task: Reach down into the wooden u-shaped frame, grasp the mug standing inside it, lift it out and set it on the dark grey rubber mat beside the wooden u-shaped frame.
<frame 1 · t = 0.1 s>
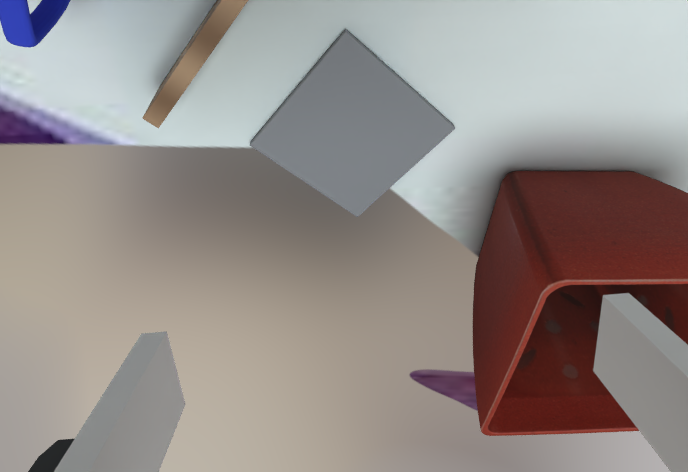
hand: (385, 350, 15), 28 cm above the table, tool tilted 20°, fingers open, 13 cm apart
plant pot: (550, 223, 49), on the table
mat: (351, 133, 41), on the table
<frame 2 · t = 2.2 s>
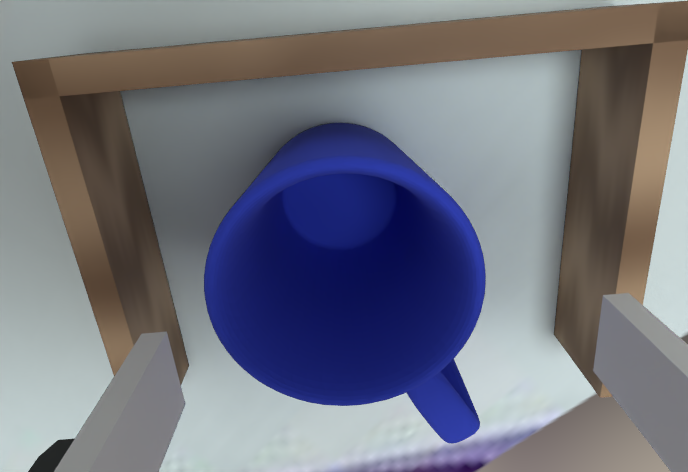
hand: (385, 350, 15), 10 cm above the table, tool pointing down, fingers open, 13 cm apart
mug: (361, 221, 24), on the table
wooden u-shaped frame: (361, 222, 24), on the table
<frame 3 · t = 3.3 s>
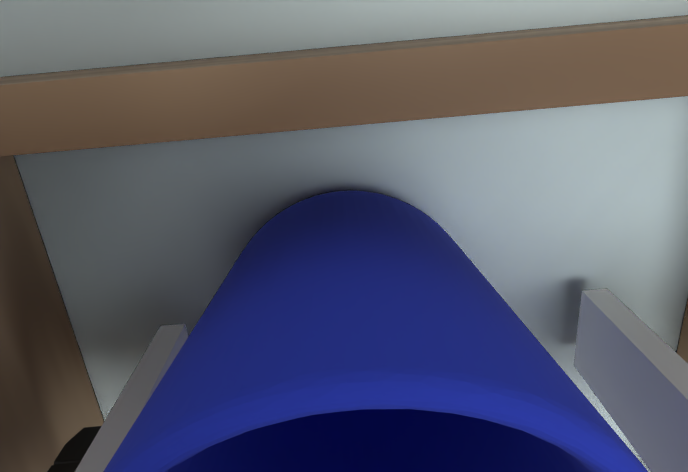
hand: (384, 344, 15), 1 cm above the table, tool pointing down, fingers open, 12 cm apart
mug: (381, 323, 17), on the table
wooden u-shaped frame: (381, 327, 16), on the table
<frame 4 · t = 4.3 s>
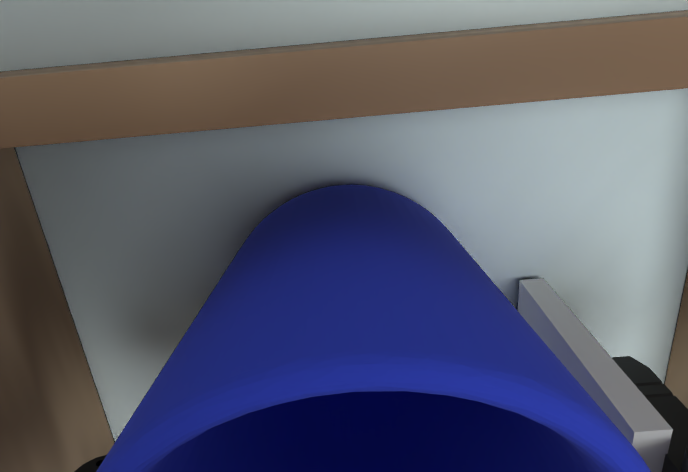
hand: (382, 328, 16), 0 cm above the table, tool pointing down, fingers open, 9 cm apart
mug: (380, 317, 17), on the table, touching gripper
wooden u-shaped frame: (380, 320, 16), on the table
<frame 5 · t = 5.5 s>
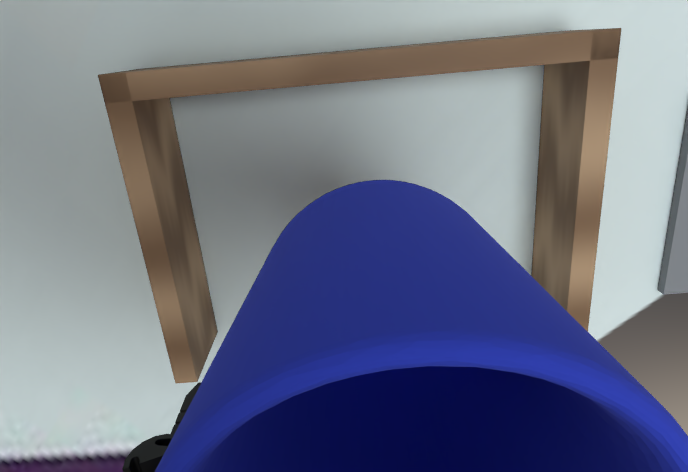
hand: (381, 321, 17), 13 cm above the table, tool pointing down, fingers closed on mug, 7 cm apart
mug: (405, 310, 17), point 13 cm above the table, touching gripper
wooden u-shaped frame: (364, 208, 29), on the table
when the fingers open (1 cm above the table, at t = 10.0 s): mug stays where it is, resting on mat.
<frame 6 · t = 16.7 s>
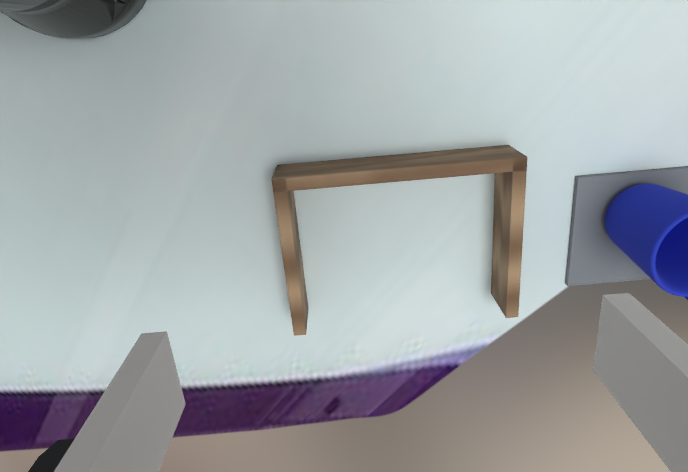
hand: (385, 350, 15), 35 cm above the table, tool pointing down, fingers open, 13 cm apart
mug: (639, 227, 51), resting on mat
mat: (628, 227, 52), on the table
wooden u-shaped frame: (396, 237, 51), on the table
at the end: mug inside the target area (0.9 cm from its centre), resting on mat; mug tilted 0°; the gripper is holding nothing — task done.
